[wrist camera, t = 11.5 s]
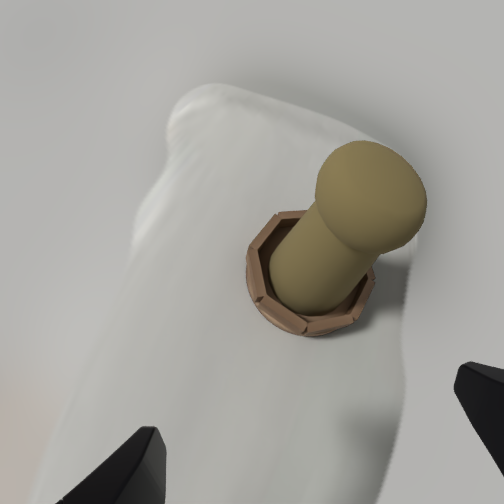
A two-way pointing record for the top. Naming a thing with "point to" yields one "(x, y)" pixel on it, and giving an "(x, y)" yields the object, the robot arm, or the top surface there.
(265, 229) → the walnut stand
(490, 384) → the robot arm
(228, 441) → the top surface
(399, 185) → the cork
